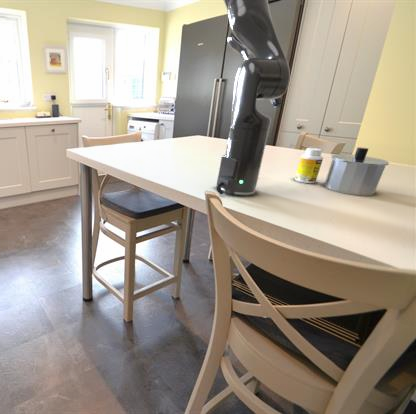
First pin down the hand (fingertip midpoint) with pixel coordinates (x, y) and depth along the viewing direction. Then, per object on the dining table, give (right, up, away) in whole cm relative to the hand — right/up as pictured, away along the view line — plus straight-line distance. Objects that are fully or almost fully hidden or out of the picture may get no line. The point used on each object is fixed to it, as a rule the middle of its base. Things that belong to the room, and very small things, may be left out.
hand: (278, 106), depth 94 cm
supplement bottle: (+6, -26, -4) cm, 27 cm away
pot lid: (+14, -21, -14) cm, 28 cm away
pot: (+14, -28, -11) cm, 33 cm away
